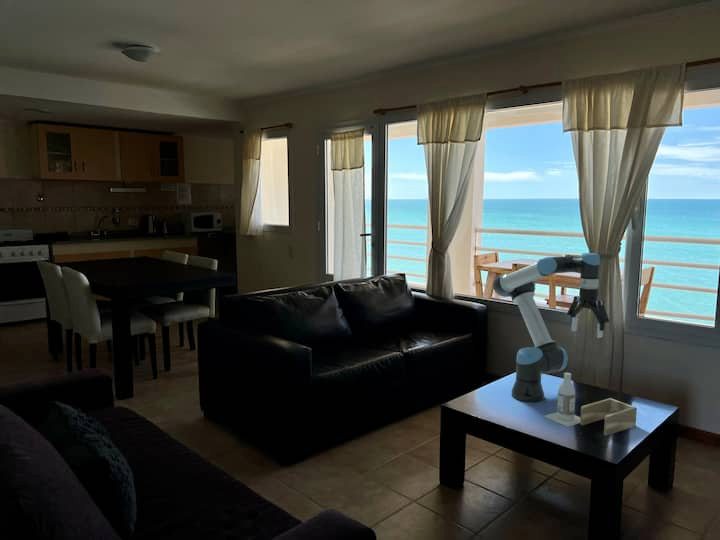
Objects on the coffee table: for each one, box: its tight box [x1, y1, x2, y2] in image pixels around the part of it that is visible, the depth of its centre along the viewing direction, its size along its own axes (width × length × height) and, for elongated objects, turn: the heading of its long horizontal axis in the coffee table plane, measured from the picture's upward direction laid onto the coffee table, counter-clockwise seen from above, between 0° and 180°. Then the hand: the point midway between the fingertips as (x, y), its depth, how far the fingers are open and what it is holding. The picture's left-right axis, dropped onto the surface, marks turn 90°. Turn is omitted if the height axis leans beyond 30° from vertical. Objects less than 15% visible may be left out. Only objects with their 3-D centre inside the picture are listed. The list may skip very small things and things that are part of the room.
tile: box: [544, 411, 581, 428], centre depth 224 cm, size 12×12×1 cm
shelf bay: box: [579, 397, 638, 436], centre depth 217 cm, size 12×19×8 cm, turn 119°
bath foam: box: [556, 372, 576, 421], centre depth 222 cm, size 7×7×20 cm
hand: (586, 334), depth 232 cm, fingers open, 13 cm apart
